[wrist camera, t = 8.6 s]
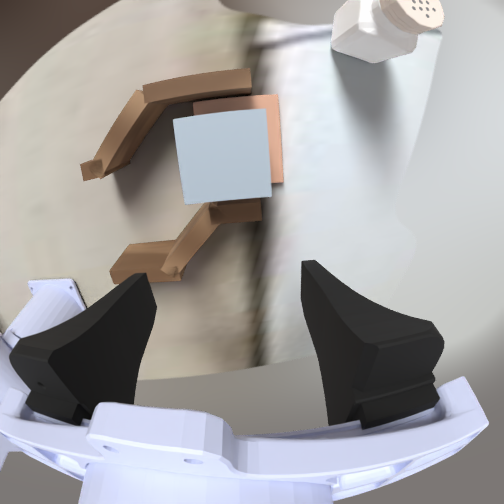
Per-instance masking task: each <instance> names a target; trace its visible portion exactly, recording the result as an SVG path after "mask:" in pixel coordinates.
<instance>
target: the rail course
mask: <svg viewBox="0 0 504 504" xmlns="http://www.w3.org/2000/svg"><path fill="white" fill-rule="evenodd" d="M251 88H252V86H251V75H250V68H246V69H234V70H225V71H216V72H209V73H202V74H195V75H189V76H184V77H178V78H173V79H168V80H163V81H159V82H155V83H150V84H146V85H143V91H141V90H136V91H135V92H134V94H133V95H132V97H131V98H130V100H129V101H128V102H127V104H126V105H125V107H124V108H123V110H122V111H121V113H120V115H119V116H118V118H117V119H116V121H115V122H114V124H113V126H112V127H111V129H110V131H109V132H108V134H107V136H106V137H105V139H104V141H103V143H102V144H101V146H100V148H99V150H98V151H97V153H96V155H95V157H94V159H93V160H90V161H88V162H85V163H82V164H80V166H81V171H82V176H83V180H84V181H87V180H91V179H95V178H100V179H102V178H103V177H105V176H107V175H109V174H111V173H113V172H115V171H117V170H119V169H121V168H123V167H125V166H127V165H128V164H130V159H131V158H132V156H133V155H134V153H135V151H136V150H137V148H138V147H139V145H140V144H141V142H142V141H143V139H144V138H145V136H146V135H147V133H148V132H149V131H150V129H151V128H152V126H153V125H154V124H155V122H156V121H157V119H158V118H159V117H160V115H161V114H162V113H163V111H164V110H165V109H166V107H167V106H168V105H171V104H176V103H182V102H188V101H194V100H200V99H207V98H215V97H224V96H233V95H244V94H250V93H251ZM261 220H262V213H261V201H260V197H259V198H247V199H235V200H225V201H215V202H205V203H204V204H203V206H202V207H201V208H200V209H199V211H198V212H197V213H196V214H195V216H194V217H193V218H192V219H191V221H190V222H189V223H188V225H187V226H186V227H185V228H184V230H183V231H182V232H181V234H180V235H179V236H178V238H177V239H176V240H169V241H158V242H148V243H139V244H129V246H128V247H127V248H126V249H125V251H124V252H123V253H122V255H121V256H120V257H119V259H118V260H117V261H116V263H115V264H114V265H113V267H112V268H111V269H110V271H109V272H110V275H111V277H112V280H113V283H114V284H120V283H122V282H123V281H124V280H126V279H127V278H128V277H130V276H131V275H133V274H135V273H146V274H147V277H148V280H149V283H150V282H168V281H181V279H182V276H183V274H184V271H185V268H186V265H187V263H188V261H189V260H190V259H191V258H192V257H193V255H194V254H195V253H196V252H197V251H198V249H199V248H200V247H201V246H202V244H203V243H204V242H205V241H206V240H207V239H208V237H209V236H210V235H211V234H212V233H213V231H214V230H215V229H216V228H217V227H218V226H219V224H226V223H237V222H249V221H261Z"/></svg>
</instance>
